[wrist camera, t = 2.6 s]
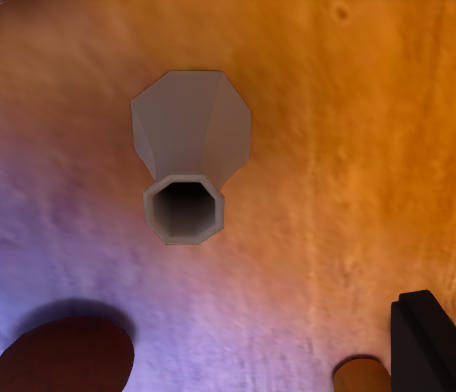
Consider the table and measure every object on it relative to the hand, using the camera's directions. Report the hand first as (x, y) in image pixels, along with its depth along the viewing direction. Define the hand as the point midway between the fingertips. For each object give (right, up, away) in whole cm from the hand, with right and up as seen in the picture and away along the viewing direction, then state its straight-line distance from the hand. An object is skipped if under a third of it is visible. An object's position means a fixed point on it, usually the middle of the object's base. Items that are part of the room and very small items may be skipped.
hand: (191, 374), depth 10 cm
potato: (-10, -10, +17) cm, 22 cm away
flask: (-1, +8, +16) cm, 18 cm away
